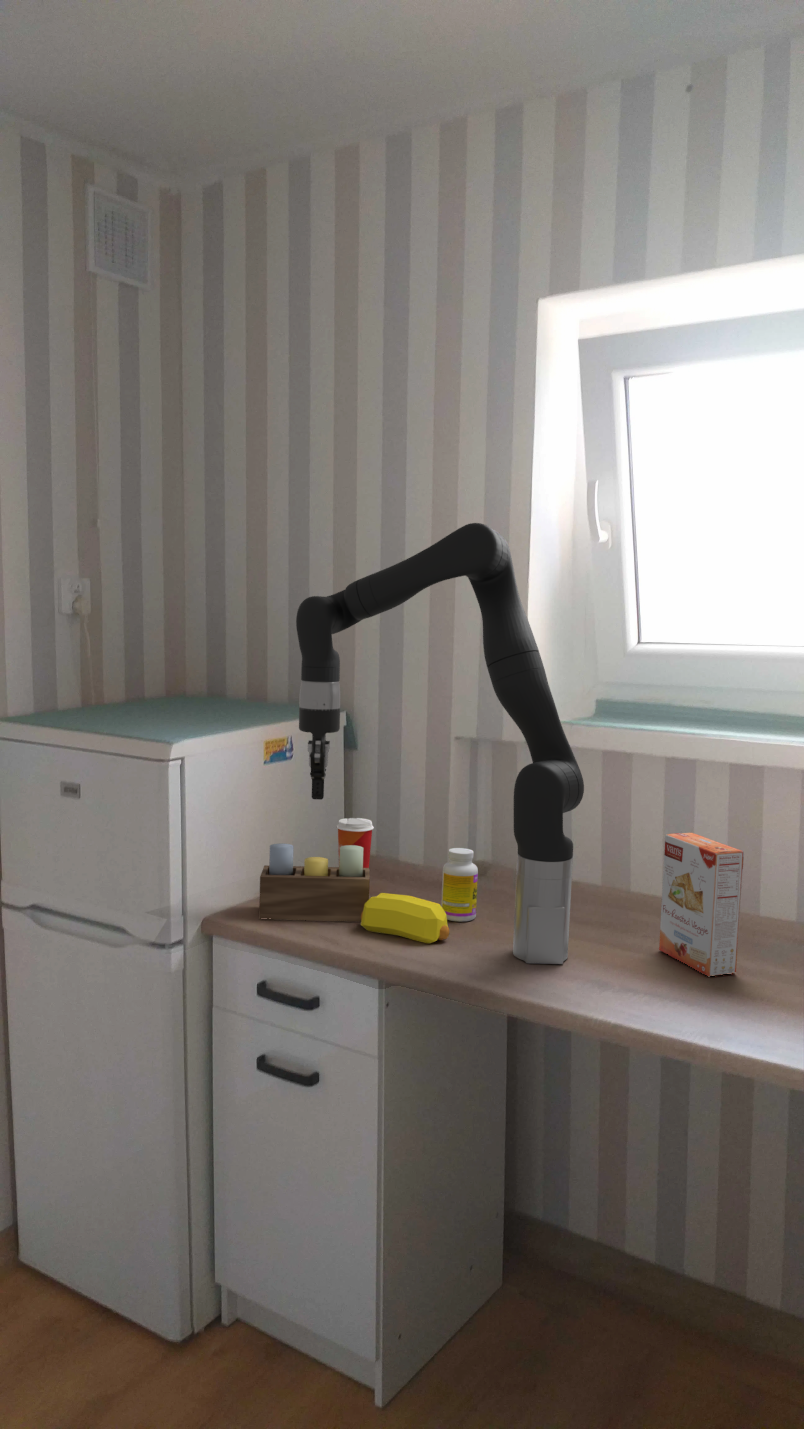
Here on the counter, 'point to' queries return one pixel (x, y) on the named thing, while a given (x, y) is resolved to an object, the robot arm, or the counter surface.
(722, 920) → the cracker box
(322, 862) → the button mustard
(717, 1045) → the counter surface
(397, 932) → the yellow toy banana
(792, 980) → the counter surface
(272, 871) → the blue-grey cylinder
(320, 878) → the wooden compartment holder
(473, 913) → the supplement bottle
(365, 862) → the paper cup
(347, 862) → the button sage
